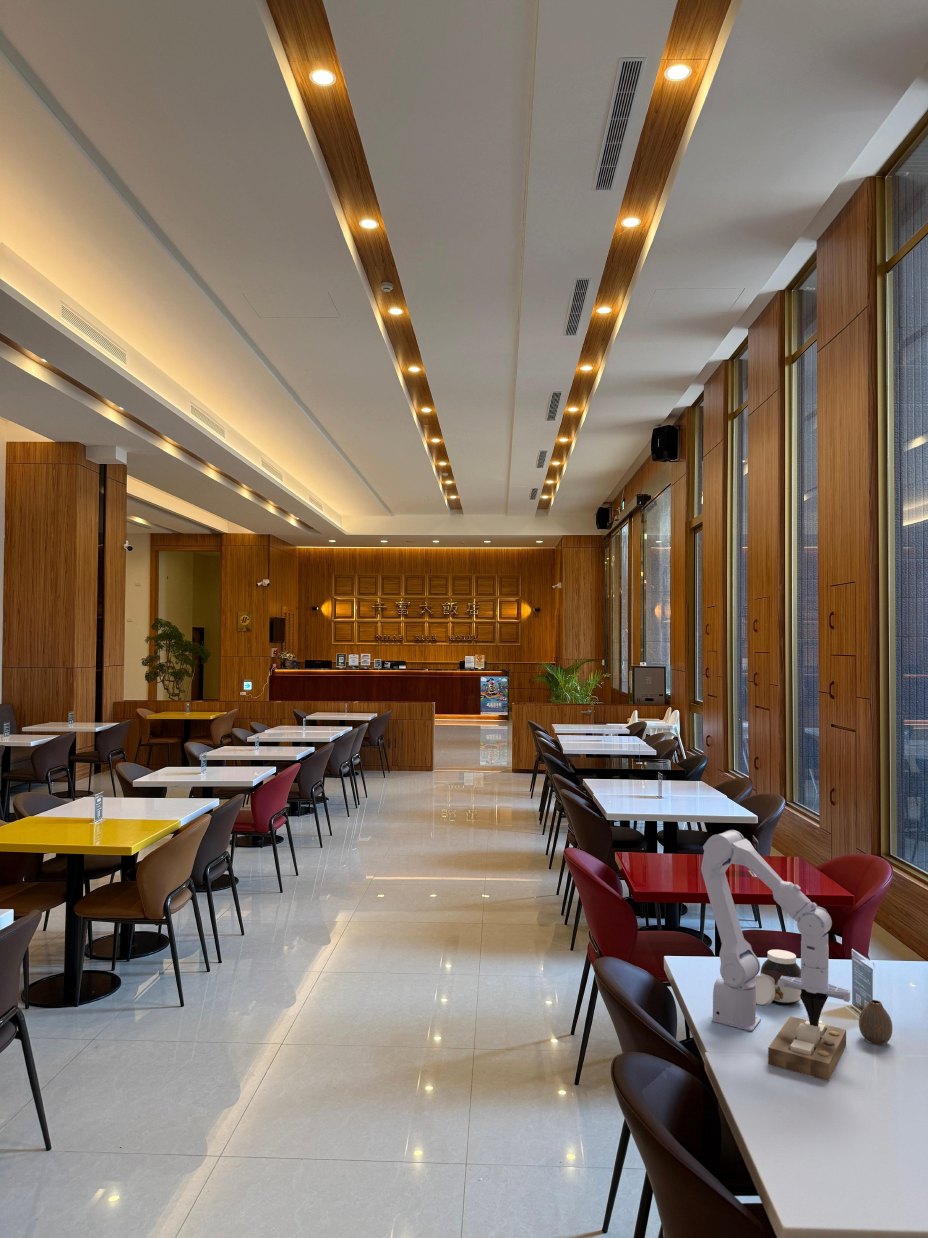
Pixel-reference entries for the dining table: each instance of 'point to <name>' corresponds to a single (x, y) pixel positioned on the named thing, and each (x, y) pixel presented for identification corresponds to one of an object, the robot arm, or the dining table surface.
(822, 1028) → the button
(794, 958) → the spread jar
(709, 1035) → the dining table surface
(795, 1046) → the button
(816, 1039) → the button middle
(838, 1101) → the dining table surface
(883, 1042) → the vase
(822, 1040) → the button board
